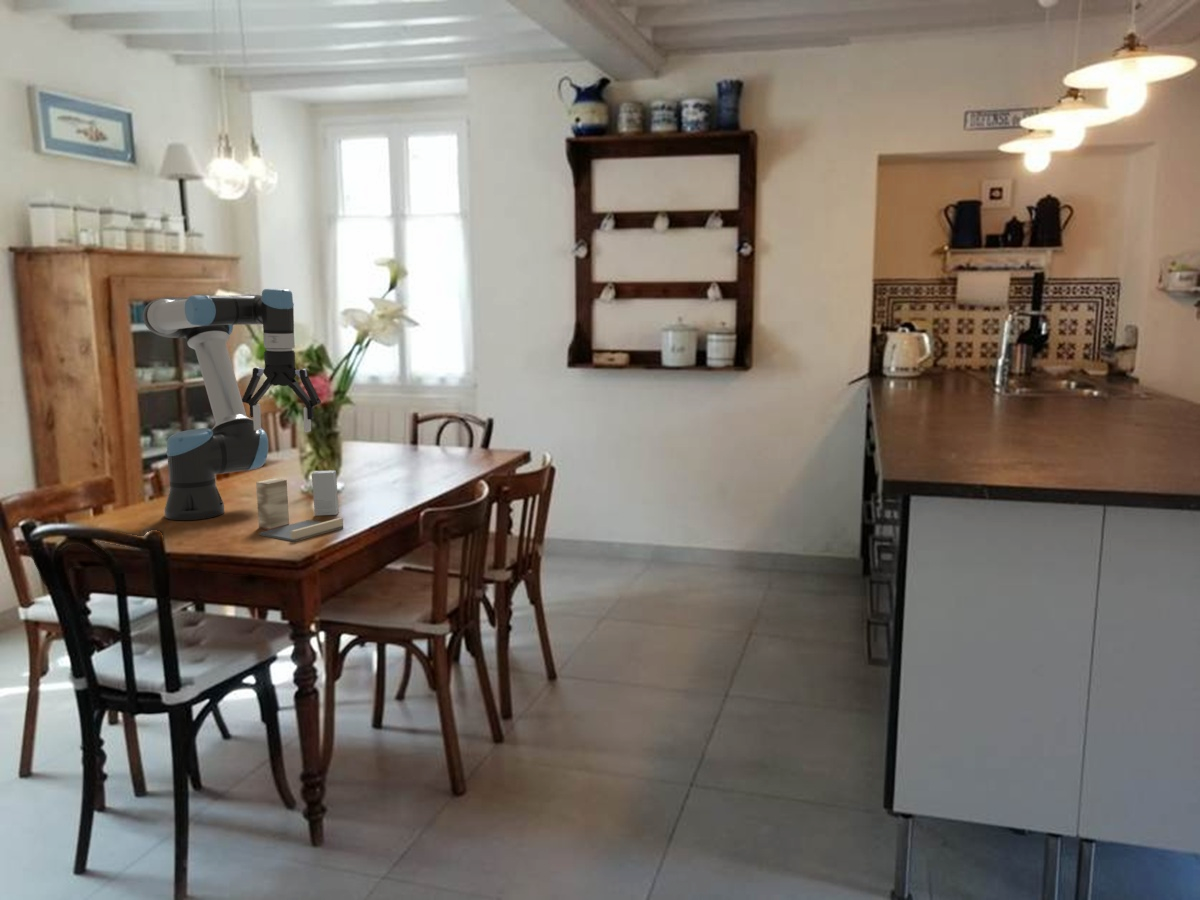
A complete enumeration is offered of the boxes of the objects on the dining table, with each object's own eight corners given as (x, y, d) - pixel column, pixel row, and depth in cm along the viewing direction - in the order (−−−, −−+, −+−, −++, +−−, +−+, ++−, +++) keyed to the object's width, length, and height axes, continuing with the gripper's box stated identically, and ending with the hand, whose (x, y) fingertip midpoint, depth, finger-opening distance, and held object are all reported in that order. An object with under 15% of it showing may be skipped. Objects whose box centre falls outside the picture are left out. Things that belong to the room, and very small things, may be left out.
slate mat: (259, 535, 230) (258, 525, 230) (308, 522, 244) (308, 512, 243) (294, 541, 224) (293, 531, 223) (343, 528, 237) (342, 518, 237)
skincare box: (339, 512, 256) (337, 469, 254) (336, 515, 251) (334, 472, 249) (316, 512, 255) (314, 470, 253) (313, 516, 250) (311, 473, 249)
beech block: (258, 527, 238) (256, 482, 236) (277, 523, 243) (275, 478, 241) (270, 530, 235) (267, 483, 233) (289, 525, 240) (286, 480, 239)
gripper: (225, 349, 232) (229, 430, 236) (320, 352, 230) (323, 434, 234) (239, 346, 239) (243, 426, 243) (331, 350, 237) (334, 430, 241)
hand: (282, 430), depth 239 cm, fingers open, 13 cm apart
